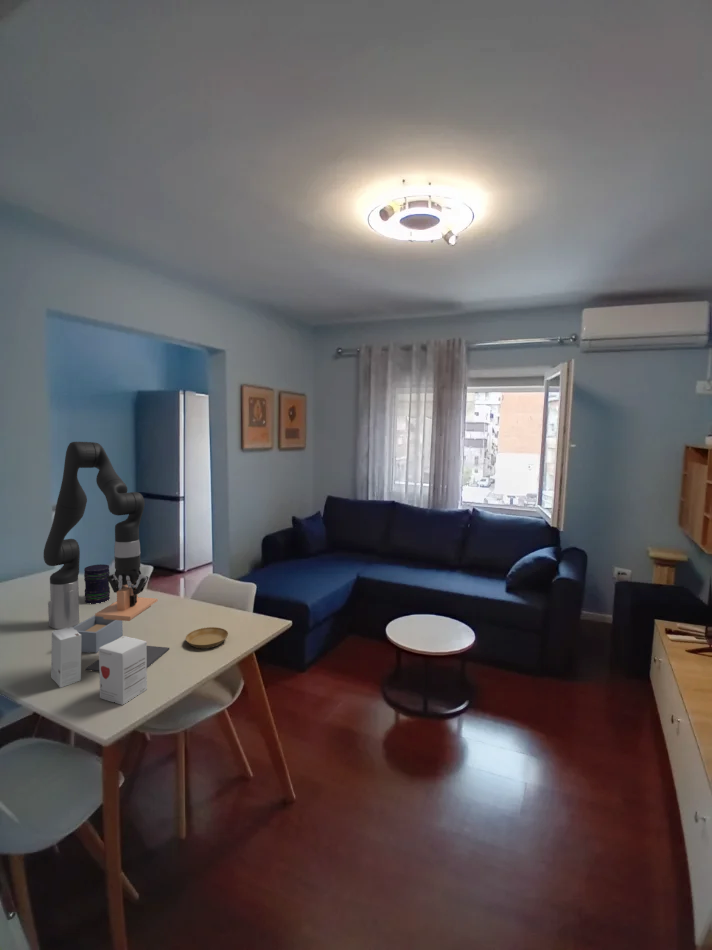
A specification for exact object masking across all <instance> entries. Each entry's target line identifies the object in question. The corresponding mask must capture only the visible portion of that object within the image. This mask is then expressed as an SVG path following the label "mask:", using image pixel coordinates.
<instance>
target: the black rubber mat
mask: <svg viewBox="0 0 712 950" xmlns="http://www.w3.org/2000/svg"><path fill="white" fill-rule="evenodd" d="M169 650H170V647H168V646H167V647H165V646H155V645H147V669H148V668H149V667H151V666H152V665H153V664H154V663H155V662H156V661H157V660H159V659H160V658H161V657H162V656H163V655H165V654H166V653H167V652H169ZM151 664H152V665H151ZM86 670H92V671H91V672H96V671H99V658H98V659H97V660H96V661H94V662H92V663H91V664H90V665H88V666H87V667H86V668H85V671H86Z"/></svg>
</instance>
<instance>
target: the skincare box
mask: <svg viewBox="0 0 712 950" xmlns="http://www.w3.org/2000/svg"><path fill="white" fill-rule="evenodd" d="M73 627H74V626H73ZM73 627H68V628H64V629H55V630H52V631H51V651H50V653H51V656H50V657H51V660H50V661H51V662H50V663H51V664H50V666H51V667H50V670H51V671H50V673H51V674H50V677H51V678H50V679H52V680H53V681H54V682H55V683H56V684H57V686H58V687H59V688H63V687H67V686H69V685H72V683H73V684H75V682H76V683H78V682H77V681H79V682H81V681H82V652H81V634H79V633H78V632H77V630H75V629H74V628H73Z"/></svg>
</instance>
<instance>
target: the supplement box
mask: <svg viewBox="0 0 712 950" xmlns="http://www.w3.org/2000/svg"><path fill="white" fill-rule="evenodd" d="M147 642H148V641H146V640H142V639H140V638H137V637H129V636H126V635H123V636H121V637H120V638H118V639H117V640H114V641H112V642H110V643H108V644H106V645H104V646H102V647H100V648H99V652H98V655H99V656H98V659H99V699H102V700H105V701H108V702H112V703H114V702H115V704H118V705H120V706H121V705H122V706H124V705H125V703H126V704H127V703H128V701H129V702H131V699H132V700H133V699H134V697H135V698H136V697H137V695H138V696H139V695H141V694H142V693H144V692H145V691H147V690H148V685H147V684H148V681H147V679H148V675H147V674H148V673H147V672H148V668H147V646H148V644H147ZM123 704H124V705H123Z"/></svg>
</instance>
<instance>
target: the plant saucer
mask: <svg viewBox="0 0 712 950" xmlns="http://www.w3.org/2000/svg"><path fill="white" fill-rule="evenodd" d="M228 636H229V632H228V631H227V629H225V628H221V627H217V626H210V627H209V626H208V627H202V628H198V629H194V630H192V631H190V632H188V634H186V636H185V638H184V639H185V641H186V642H187V643H188V644H189V645H190V646H192V648H196V649H200V648H201V649H204V648H206V649H211V647H212V648H215V647H217V646H219V645H221V644H222V643H223V642H225V640H226V639H227V638H228ZM201 649H200V650H201Z"/></svg>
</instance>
